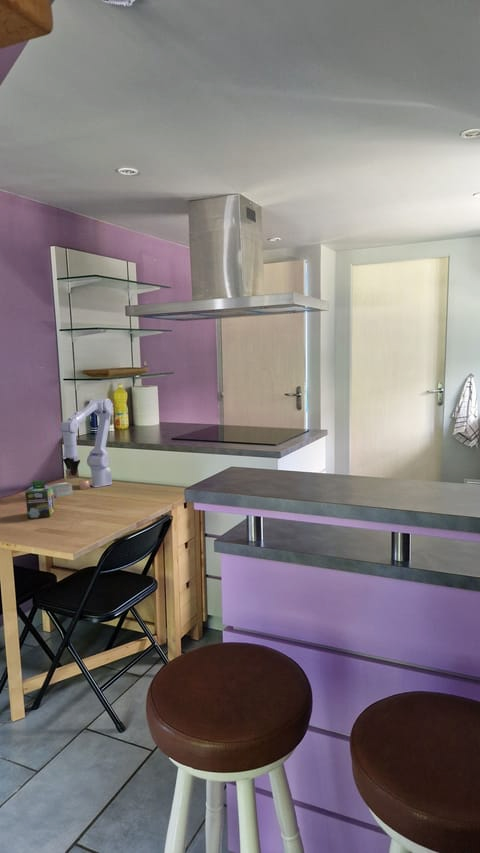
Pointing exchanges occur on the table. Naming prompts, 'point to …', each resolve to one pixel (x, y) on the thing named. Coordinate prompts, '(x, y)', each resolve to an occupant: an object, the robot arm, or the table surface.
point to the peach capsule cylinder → (84, 484)
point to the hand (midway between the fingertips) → (72, 473)
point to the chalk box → (40, 500)
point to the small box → (62, 489)
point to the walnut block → (69, 475)
